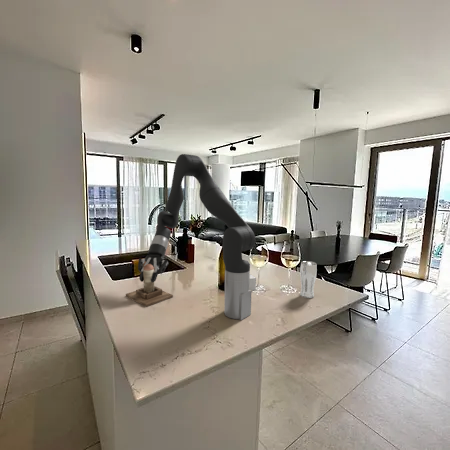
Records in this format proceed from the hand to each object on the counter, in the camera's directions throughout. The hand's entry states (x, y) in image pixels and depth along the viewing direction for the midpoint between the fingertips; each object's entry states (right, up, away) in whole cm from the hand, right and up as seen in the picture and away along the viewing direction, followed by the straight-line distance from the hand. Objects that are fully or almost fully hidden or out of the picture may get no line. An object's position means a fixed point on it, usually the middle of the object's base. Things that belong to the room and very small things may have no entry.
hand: (146, 281), depth 110 cm
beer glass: (+70, -8, +7) cm, 71 cm away
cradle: (0, -7, +3) cm, 8 cm away
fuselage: (0, -5, +3) cm, 6 cm away
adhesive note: (+44, -7, +14) cm, 47 cm away
